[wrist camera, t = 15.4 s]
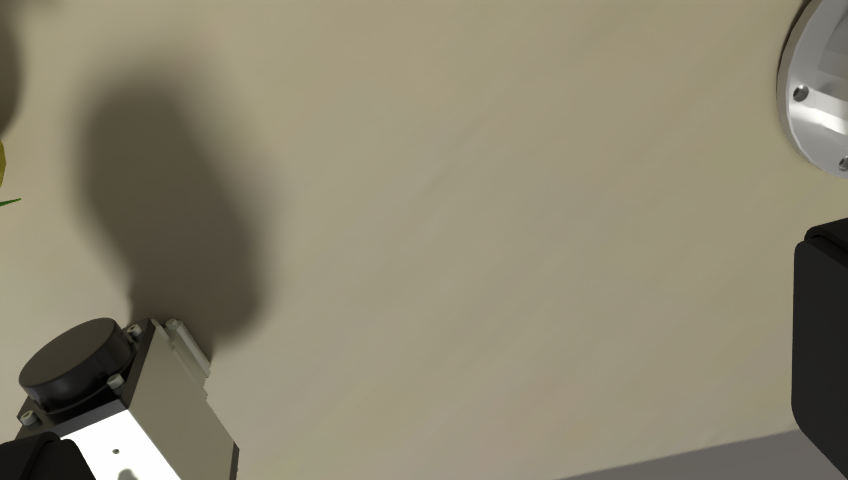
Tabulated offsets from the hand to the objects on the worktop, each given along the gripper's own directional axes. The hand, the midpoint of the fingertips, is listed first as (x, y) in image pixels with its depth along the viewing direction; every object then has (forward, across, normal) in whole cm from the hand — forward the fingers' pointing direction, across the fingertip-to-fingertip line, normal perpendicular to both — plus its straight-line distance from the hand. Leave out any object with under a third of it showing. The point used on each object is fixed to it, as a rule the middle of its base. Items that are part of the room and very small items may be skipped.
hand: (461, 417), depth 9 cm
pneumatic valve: (+28, +14, +14) cm, 35 cm away
